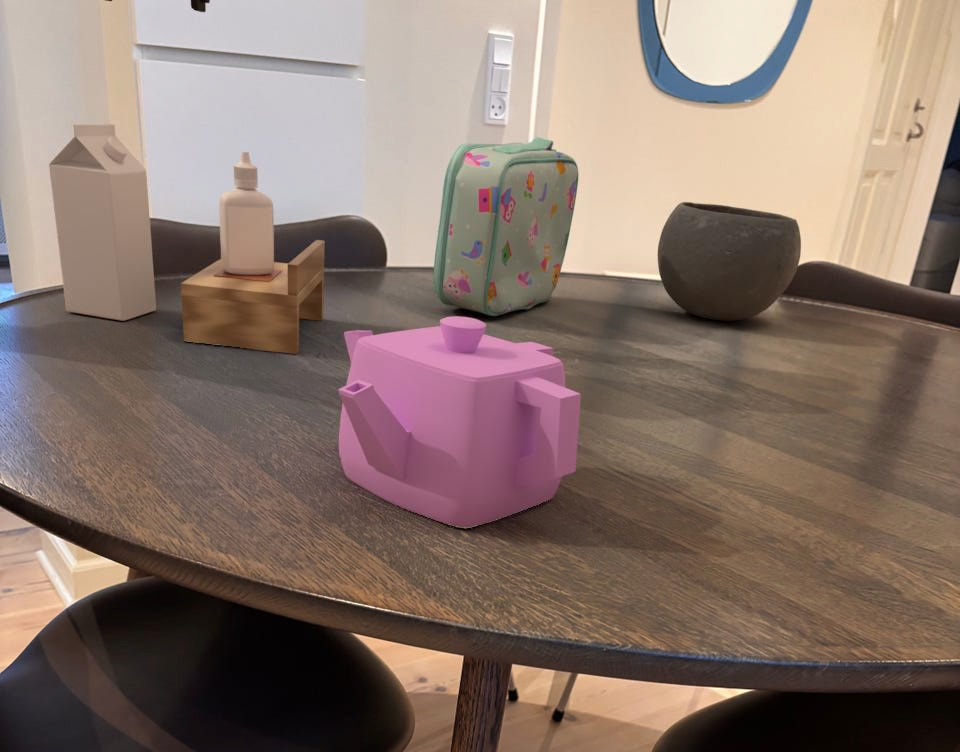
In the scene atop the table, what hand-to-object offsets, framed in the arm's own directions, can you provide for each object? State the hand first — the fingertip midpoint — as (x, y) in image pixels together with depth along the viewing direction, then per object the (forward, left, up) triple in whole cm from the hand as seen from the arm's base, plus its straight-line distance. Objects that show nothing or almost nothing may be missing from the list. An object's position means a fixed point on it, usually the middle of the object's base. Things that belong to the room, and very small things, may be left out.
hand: (152, 5), depth 97 cm
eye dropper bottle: (+11, -7, -24) cm, 28 cm away
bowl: (+73, +31, -31) cm, 85 cm away
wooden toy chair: (+12, -7, -30) cm, 33 cm away
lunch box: (+40, +22, -31) cm, 55 cm away
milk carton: (-5, -6, -31) cm, 31 cm away
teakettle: (+35, -50, -31) cm, 68 cm away
